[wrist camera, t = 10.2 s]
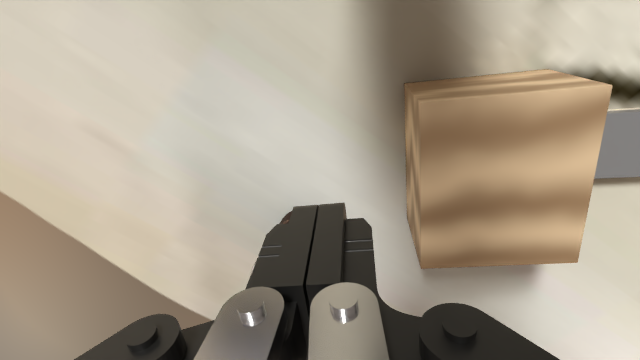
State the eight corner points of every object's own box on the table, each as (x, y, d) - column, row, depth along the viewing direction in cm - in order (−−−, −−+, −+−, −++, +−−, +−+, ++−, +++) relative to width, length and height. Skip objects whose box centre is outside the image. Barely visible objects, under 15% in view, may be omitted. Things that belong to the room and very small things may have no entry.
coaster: (678, 109, 35) (662, 105, 37) (601, 113, 36) (589, 109, 38) (659, 175, 38) (644, 168, 40) (587, 178, 39) (576, 171, 41)
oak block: (404, 83, 38) (420, 103, 29) (547, 69, 36) (612, 85, 27) (407, 217, 44) (421, 268, 35) (529, 210, 43) (577, 262, 33)
